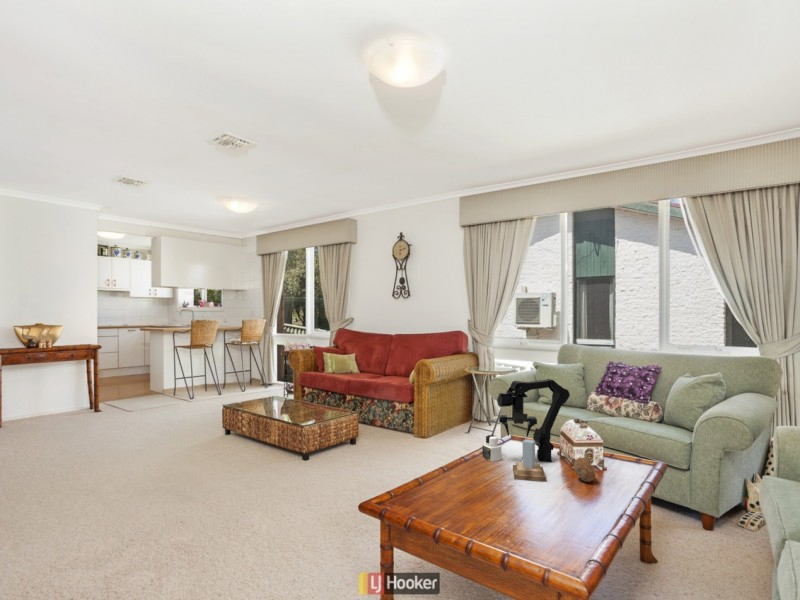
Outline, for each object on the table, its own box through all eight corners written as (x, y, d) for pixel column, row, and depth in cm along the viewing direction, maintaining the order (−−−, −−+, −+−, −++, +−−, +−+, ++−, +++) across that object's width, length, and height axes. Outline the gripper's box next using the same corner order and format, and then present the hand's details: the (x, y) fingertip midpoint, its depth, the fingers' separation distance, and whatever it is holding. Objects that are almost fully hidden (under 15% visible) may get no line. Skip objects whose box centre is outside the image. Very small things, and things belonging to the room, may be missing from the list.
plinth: (542, 470, 222) (542, 462, 222) (546, 481, 208) (546, 472, 208) (512, 468, 225) (512, 460, 225) (514, 479, 211) (514, 470, 211)
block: (525, 464, 219) (525, 439, 220) (535, 466, 217) (535, 440, 217) (522, 467, 216) (522, 441, 216) (532, 468, 213) (532, 443, 213)
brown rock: (598, 477, 213) (598, 456, 213) (593, 486, 203) (593, 463, 203) (577, 473, 218) (577, 452, 219) (571, 482, 208) (571, 459, 208)
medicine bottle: (482, 457, 241) (482, 435, 241) (493, 456, 244) (493, 433, 244) (490, 462, 234) (490, 438, 235) (501, 460, 237) (501, 436, 238)
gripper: (499, 408, 229) (499, 439, 229) (538, 410, 225) (538, 442, 225) (499, 403, 240) (498, 433, 240) (536, 405, 236) (535, 435, 236)
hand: (517, 436), depth 235 cm, fingers open, 9 cm apart
